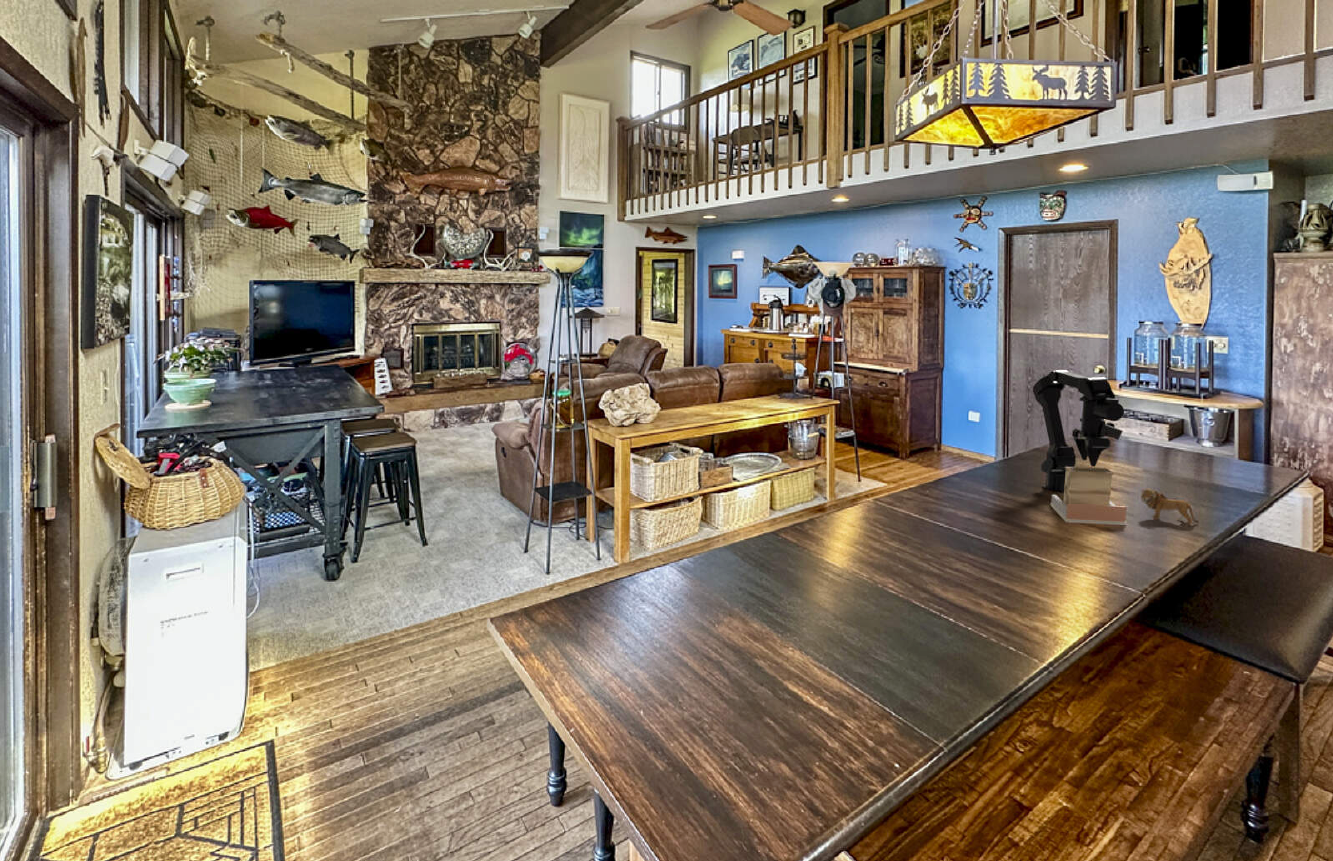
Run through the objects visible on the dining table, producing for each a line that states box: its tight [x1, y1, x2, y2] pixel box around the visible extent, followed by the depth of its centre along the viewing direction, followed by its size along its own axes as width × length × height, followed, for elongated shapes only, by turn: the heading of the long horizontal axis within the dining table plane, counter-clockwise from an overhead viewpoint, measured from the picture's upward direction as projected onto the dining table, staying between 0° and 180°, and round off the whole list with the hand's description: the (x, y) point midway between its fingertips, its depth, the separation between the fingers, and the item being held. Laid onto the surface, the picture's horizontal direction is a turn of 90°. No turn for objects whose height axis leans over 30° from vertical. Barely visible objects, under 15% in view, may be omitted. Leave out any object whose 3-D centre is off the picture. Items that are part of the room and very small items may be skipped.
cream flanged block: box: [1063, 466, 1114, 505], centre depth 216 cm, size 6×11×13 cm, turn 75°
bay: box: [1050, 494, 1128, 526], centre depth 216 cm, size 19×16×6 cm
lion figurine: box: [1140, 488, 1200, 526], centre depth 208 cm, size 15×5×9 cm, turn 51°
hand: (1088, 463), depth 227 cm, fingers open, 9 cm apart
